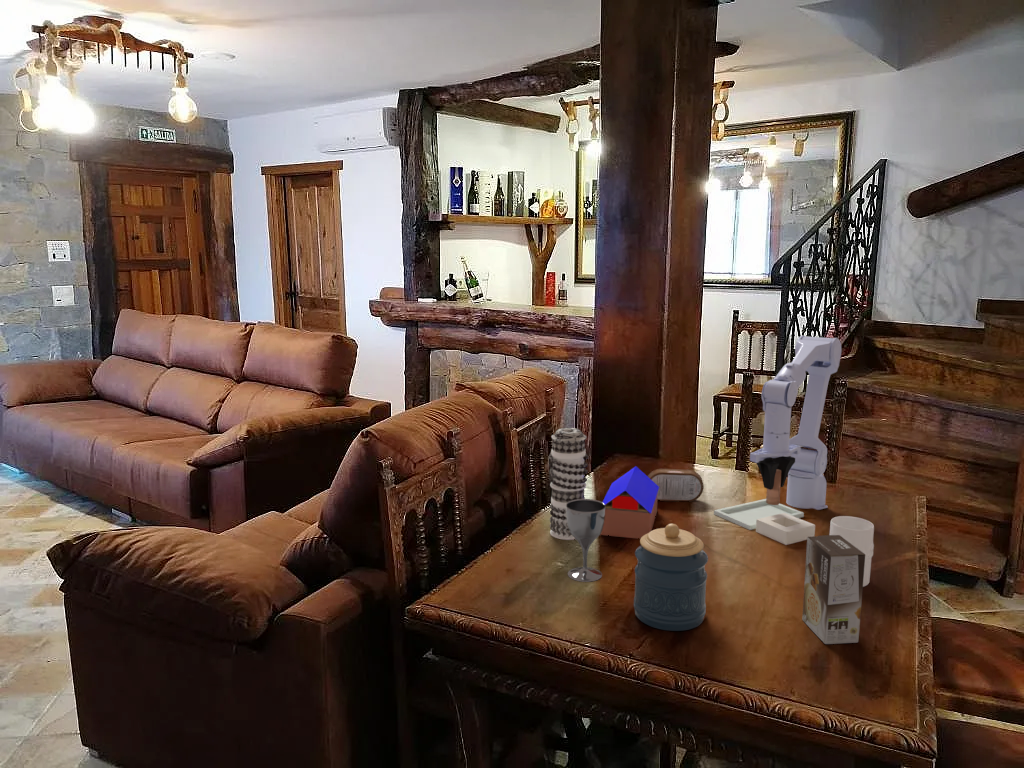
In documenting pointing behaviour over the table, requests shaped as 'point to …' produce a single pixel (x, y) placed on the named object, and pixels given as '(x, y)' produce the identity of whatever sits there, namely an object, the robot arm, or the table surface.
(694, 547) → the canister
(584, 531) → the wine glass
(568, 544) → the table surface
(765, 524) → the cup block
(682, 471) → the tin
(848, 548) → the coffee box
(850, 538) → the mug
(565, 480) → the decorative candle
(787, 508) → the tray
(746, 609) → the table surface
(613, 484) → the house
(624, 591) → the table surface
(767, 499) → the pin
